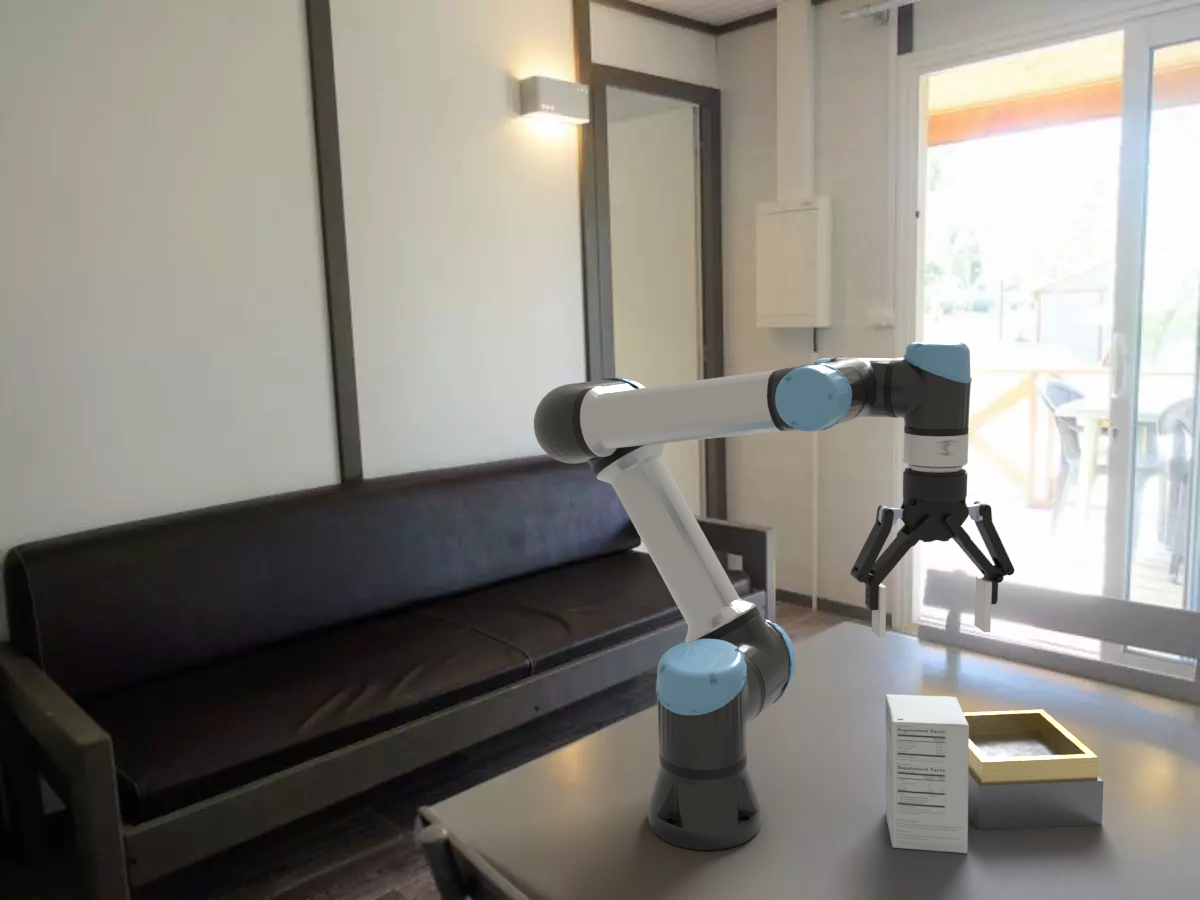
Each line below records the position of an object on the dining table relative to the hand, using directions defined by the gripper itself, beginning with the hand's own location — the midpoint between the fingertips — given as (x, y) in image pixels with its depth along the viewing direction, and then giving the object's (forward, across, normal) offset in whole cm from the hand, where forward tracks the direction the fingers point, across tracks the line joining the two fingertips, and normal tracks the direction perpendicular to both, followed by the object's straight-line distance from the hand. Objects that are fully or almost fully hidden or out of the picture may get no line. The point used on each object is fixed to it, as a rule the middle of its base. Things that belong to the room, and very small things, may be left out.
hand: (930, 631), depth 119 cm
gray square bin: (+26, +15, +5) cm, 31 cm away
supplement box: (+27, -1, -2) cm, 27 cm away
